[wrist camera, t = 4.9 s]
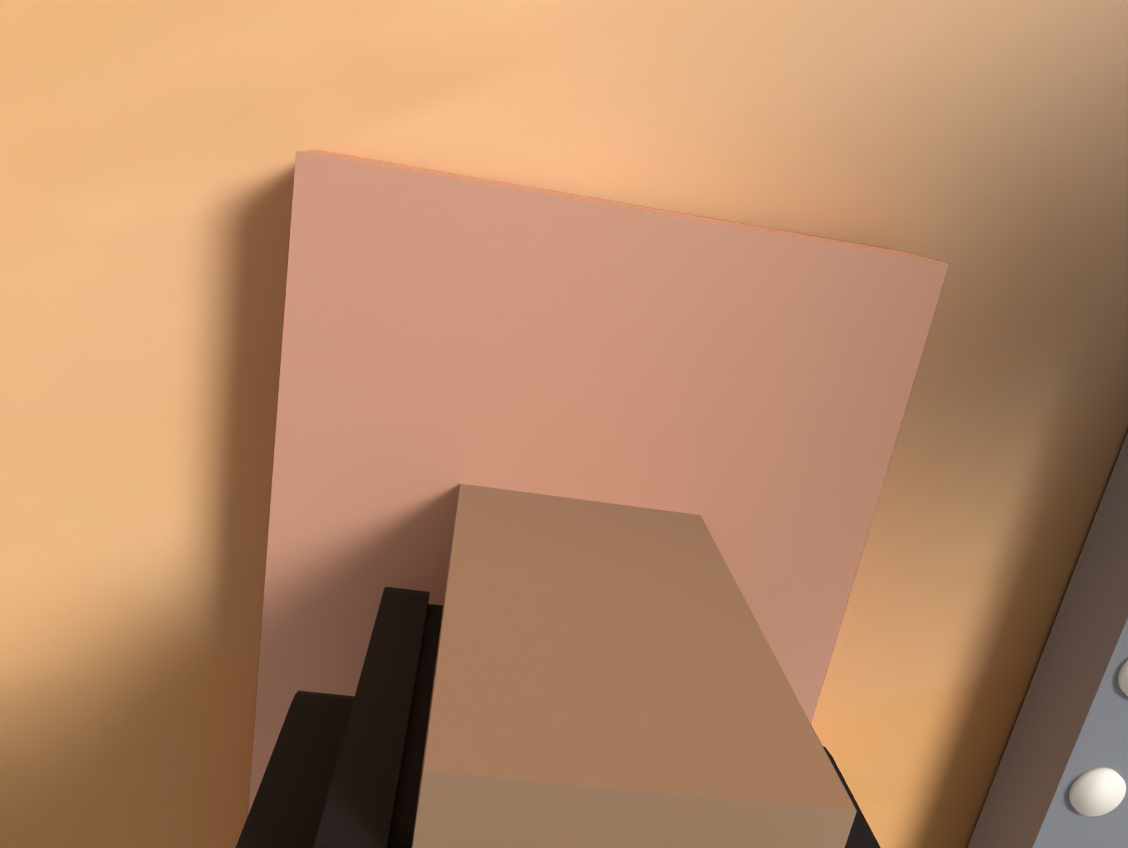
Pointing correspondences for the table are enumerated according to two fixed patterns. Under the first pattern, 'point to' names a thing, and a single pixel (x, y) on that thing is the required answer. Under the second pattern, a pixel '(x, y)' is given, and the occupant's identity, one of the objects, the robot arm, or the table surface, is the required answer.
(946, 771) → the table surface
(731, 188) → the table surface
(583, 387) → the pink slab with block
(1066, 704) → the grey dotted square slab
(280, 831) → the robot arm
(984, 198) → the table surface
